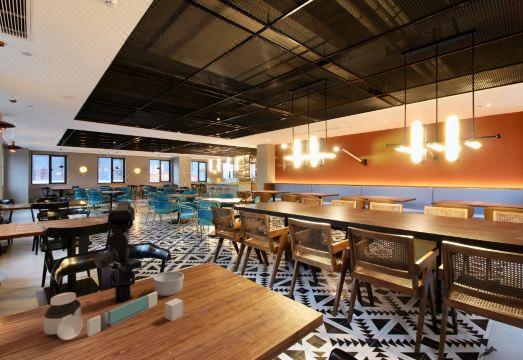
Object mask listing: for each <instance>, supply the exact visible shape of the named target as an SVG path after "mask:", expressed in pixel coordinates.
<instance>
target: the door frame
mask: <svg viewBox="0 0 523 360" xmlns="http://www.w3.org/2000/svg"><path fill="white" fill-rule="evenodd" d="M146 296H148V307H147V308H145V309H142V310H140V311H138V312H136V313H134V314H132V315H130V316H127V317H125V318H123V319H121V320H119V321H117V322H115V323H112V324H109V323H108V312H107V311H104V312H101V313H100V315H96V316H94V317H92V318H90V319H89V318H88V319H87V320H86V326H87V327H86V332H87V333H86V335H87V336H88V337H91V336H93V335H96V334H98V333H100V332H101V331H104V330H107V328H108V326H109V327H111V328H112V327H114V326H116V325H118V324H120V323H123V322H125V321H127V320H128V319H131V318H134V317H135V316H137V315H139V314H142V313H144V312H146V311H148V310H150V309H151V308H153V307H154V306H156V305H158V294H157V292H156V291H155V290H154V291H153V292H151V293H149V294H146Z"/></svg>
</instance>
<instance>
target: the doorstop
mask: <svg viewBox="0 0 523 360" xmlns="http://www.w3.org/2000/svg"><path fill="white" fill-rule="evenodd" d="M182 316H184V300H183V299H180V298H177V297H176V298H173V299H170V300H169V301H167V302H165V303H164V318H165V319H167V320H168V321H171V322H173V321H175V320H177V319H178V318H180V317H182Z"/></svg>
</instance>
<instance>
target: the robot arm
mask: <svg viewBox="0 0 523 360" xmlns="http://www.w3.org/2000/svg"><path fill="white" fill-rule="evenodd" d="M135 211H136V210H135V208H134V207H132V206H131V203H130V202H119V203H117V207H115V209H111V210H110V212H109V213H108V216H107V225H106V226H107V227H106V230H107V231H111V233H110V235H109V237H108V239H107V245H108V247H107V251H105V252H102V253H101V254H99V255H98V256H95V258H93V261H94V265H96V266H95V267H97V268H99V269H105V268H108V269H110V270H111V271H112V272H111V273H110V289H112V288H114V297H111V298H110V300H111V301H113V302H115V303H116V304H122V303H125V302H127V301H129V300H131V299H134V296H133V295H132V293H131V292H132V291H131V286H133V285H134V284H136V273H135V272H134V270H137V269H140V268H142V260H141V259H137V258H135V257H133V258H131V257H132V256H131V255H130V254H129V249H130V248H131V247H132V245H131V244H129V243H130V230H131V229H132V227H133V226H134V221H135V220H136V219H135V218H136V214H135V213H136V212H135Z"/></svg>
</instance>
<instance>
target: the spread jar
mask: <svg viewBox="0 0 523 360" xmlns="http://www.w3.org/2000/svg"><path fill="white" fill-rule="evenodd" d="M43 330H44V334H45V335H47V336H49V337H52V338H59V339H60V340H63V341H69V340H73V339H75V338H76V337H77V336H78V335H79V334H80V333H81V331H82V330H83V320H82V303H81V301H80V300H78V298H77V293H76V292H70V291H69V292H63V293H59V294H56V295H54V296H52V297H51V298H50V305H49V307H48V308H47V309H46V311H45V313H44V315H43Z"/></svg>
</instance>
